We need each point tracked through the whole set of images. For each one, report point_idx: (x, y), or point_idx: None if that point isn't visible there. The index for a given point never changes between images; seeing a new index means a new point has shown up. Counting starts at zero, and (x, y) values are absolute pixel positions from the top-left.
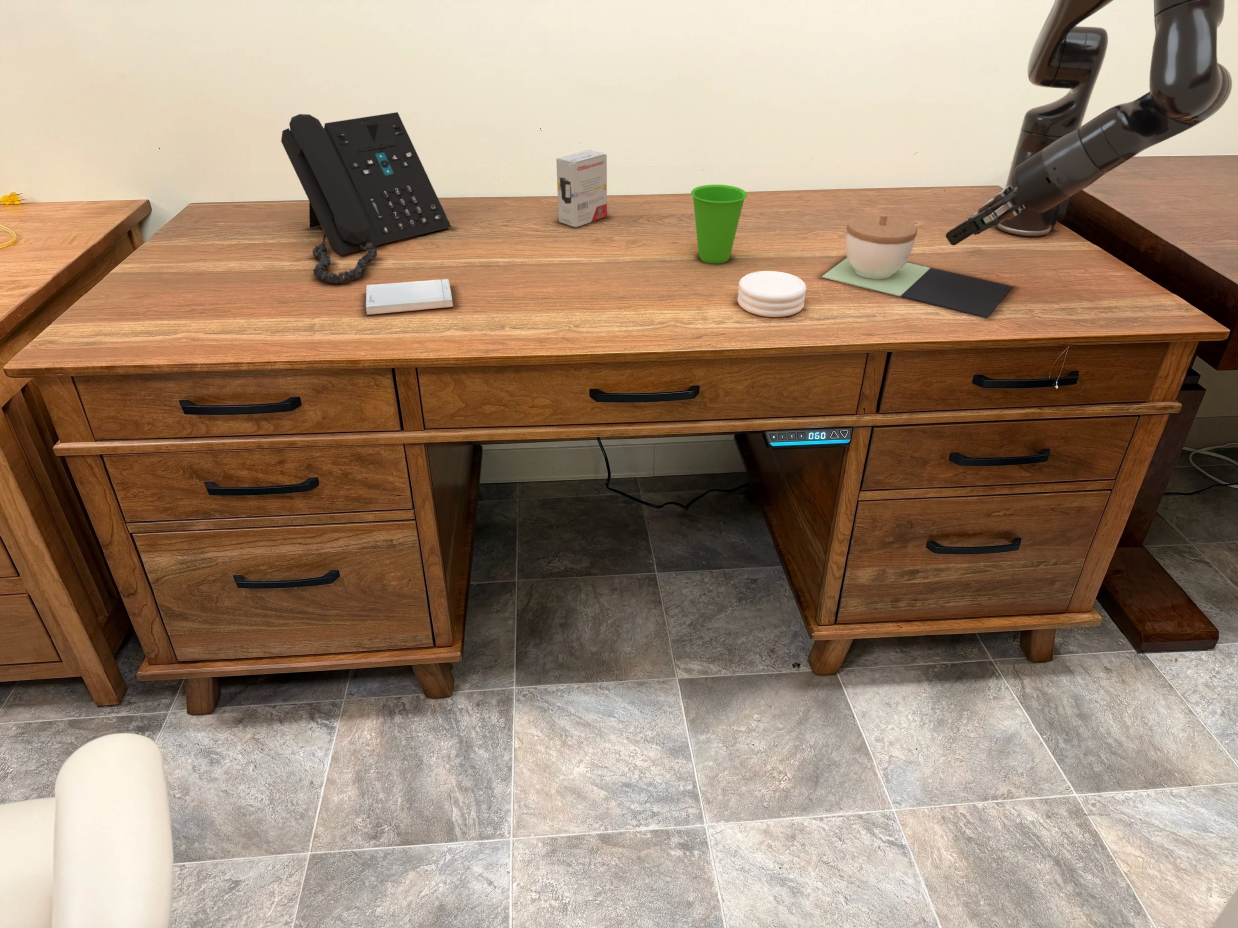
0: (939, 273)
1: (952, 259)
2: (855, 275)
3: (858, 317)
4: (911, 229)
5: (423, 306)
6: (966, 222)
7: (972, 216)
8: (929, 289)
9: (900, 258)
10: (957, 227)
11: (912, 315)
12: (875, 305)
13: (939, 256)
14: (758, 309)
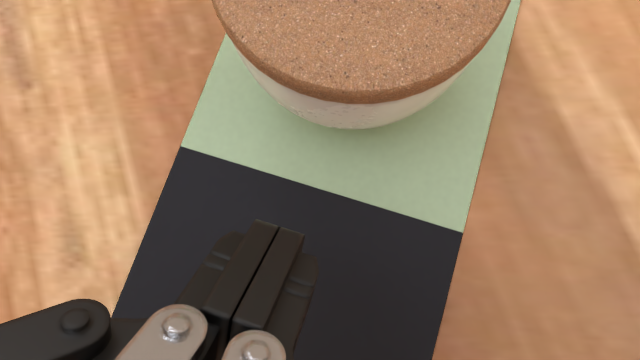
0: (417, 263)
1: (599, 312)
2: None
3: (8, 47)
4: (338, 64)
5: None
6: (201, 312)
7: (137, 345)
8: None
9: (265, 90)
10: (230, 265)
11: (49, 187)
12: (101, 83)
13: (609, 264)
14: None
